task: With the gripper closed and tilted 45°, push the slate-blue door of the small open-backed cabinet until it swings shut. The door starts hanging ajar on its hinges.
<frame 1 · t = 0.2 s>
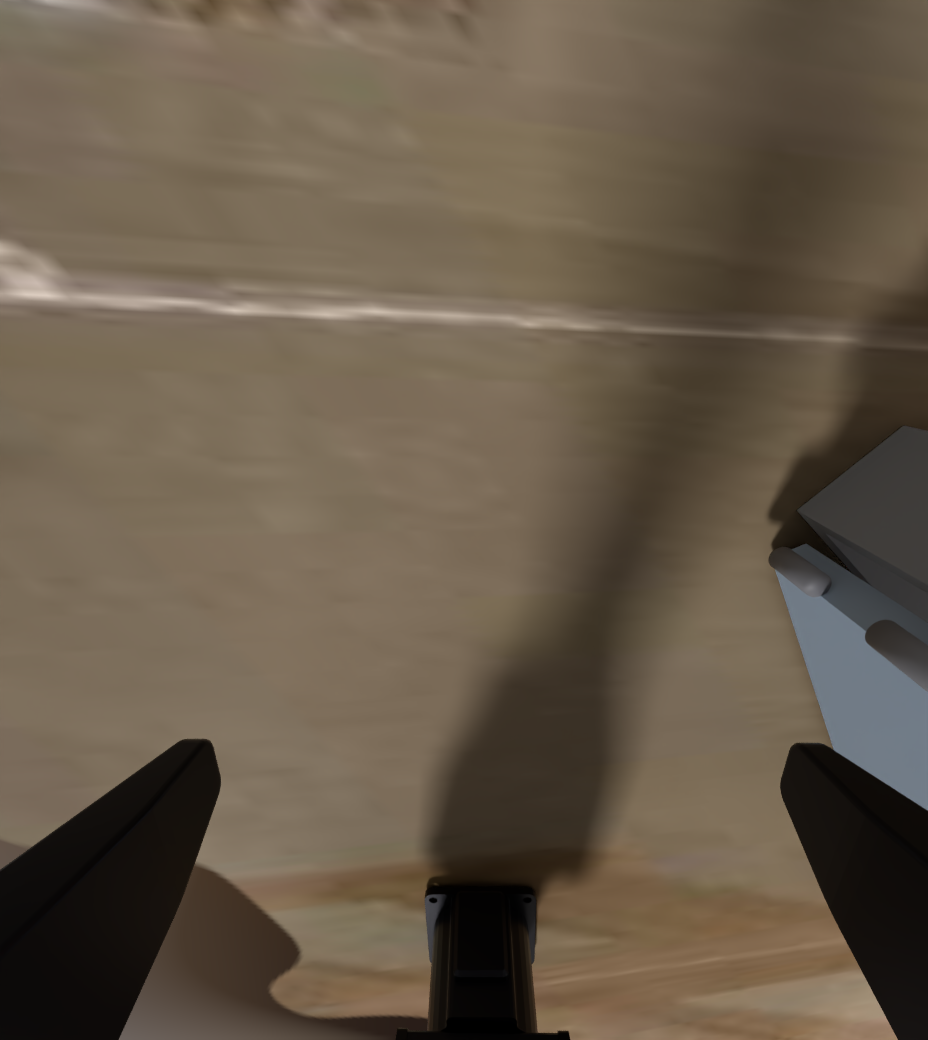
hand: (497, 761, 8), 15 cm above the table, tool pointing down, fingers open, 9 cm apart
door: (896, 768, 20), point 5 cm above the table, hinge at 20.0°
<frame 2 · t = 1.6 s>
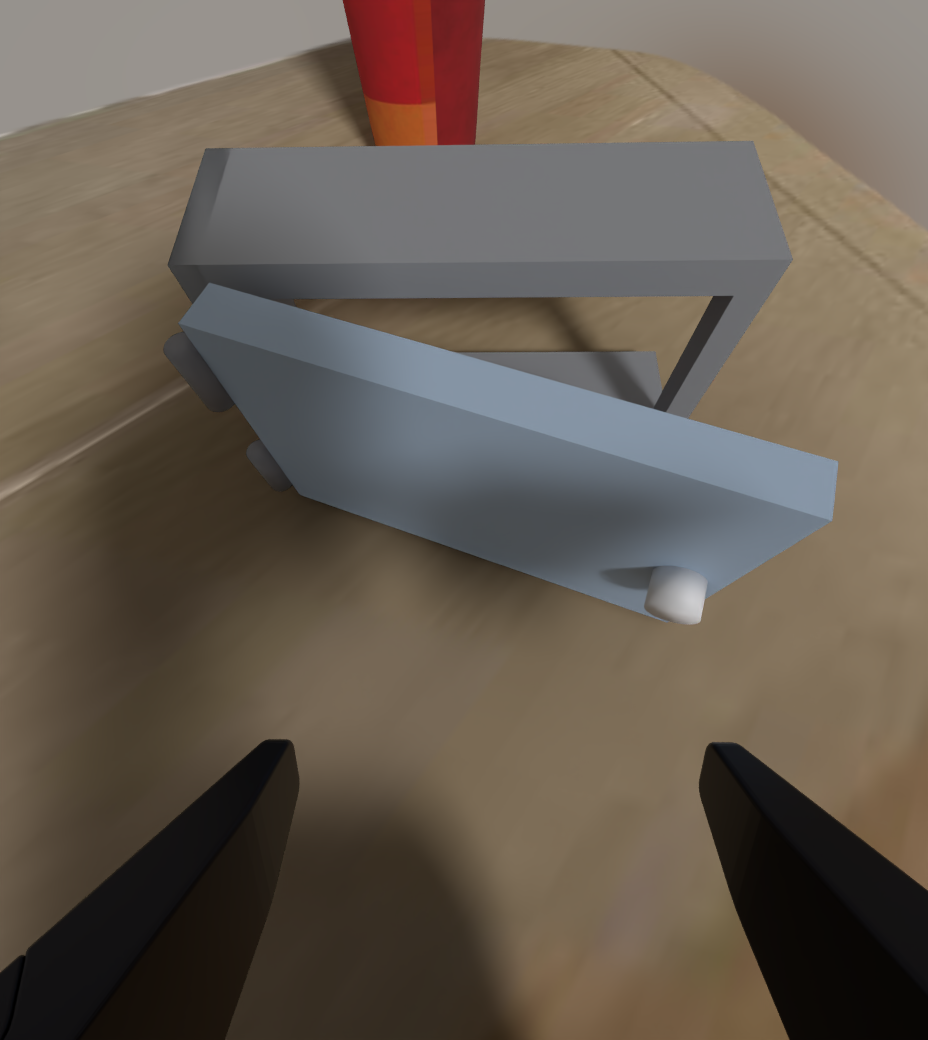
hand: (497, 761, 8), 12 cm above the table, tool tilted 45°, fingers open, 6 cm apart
door: (459, 494, 17), point 5 cm above the table, hinge at 20.0°
cabinet: (484, 411, 24), on the table
coffee cup: (425, 157, 32), on the table
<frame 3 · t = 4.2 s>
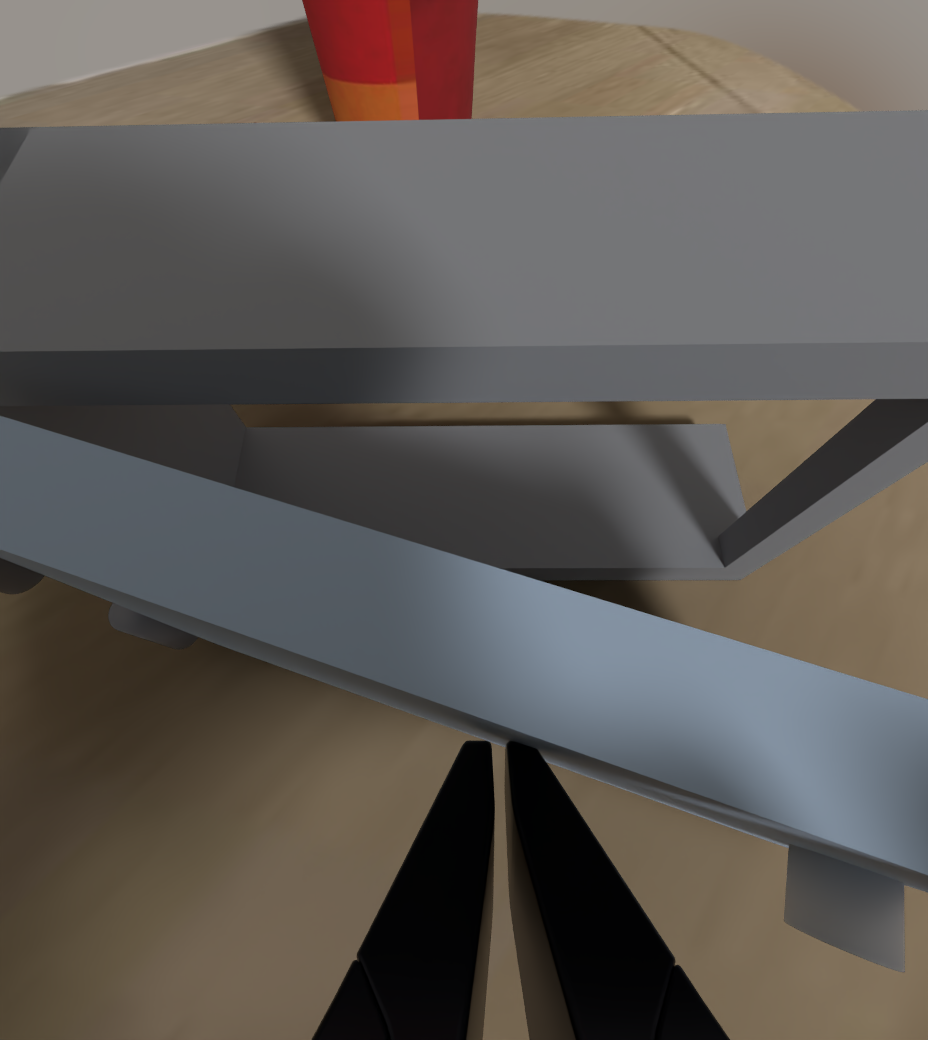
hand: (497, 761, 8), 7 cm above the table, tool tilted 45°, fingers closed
door: (447, 712, 10), point 5 cm above the table, hinge at 18.0°, touching gripper
cabinet: (483, 508, 17), on the table
coffee cup: (407, 156, 25), on the table
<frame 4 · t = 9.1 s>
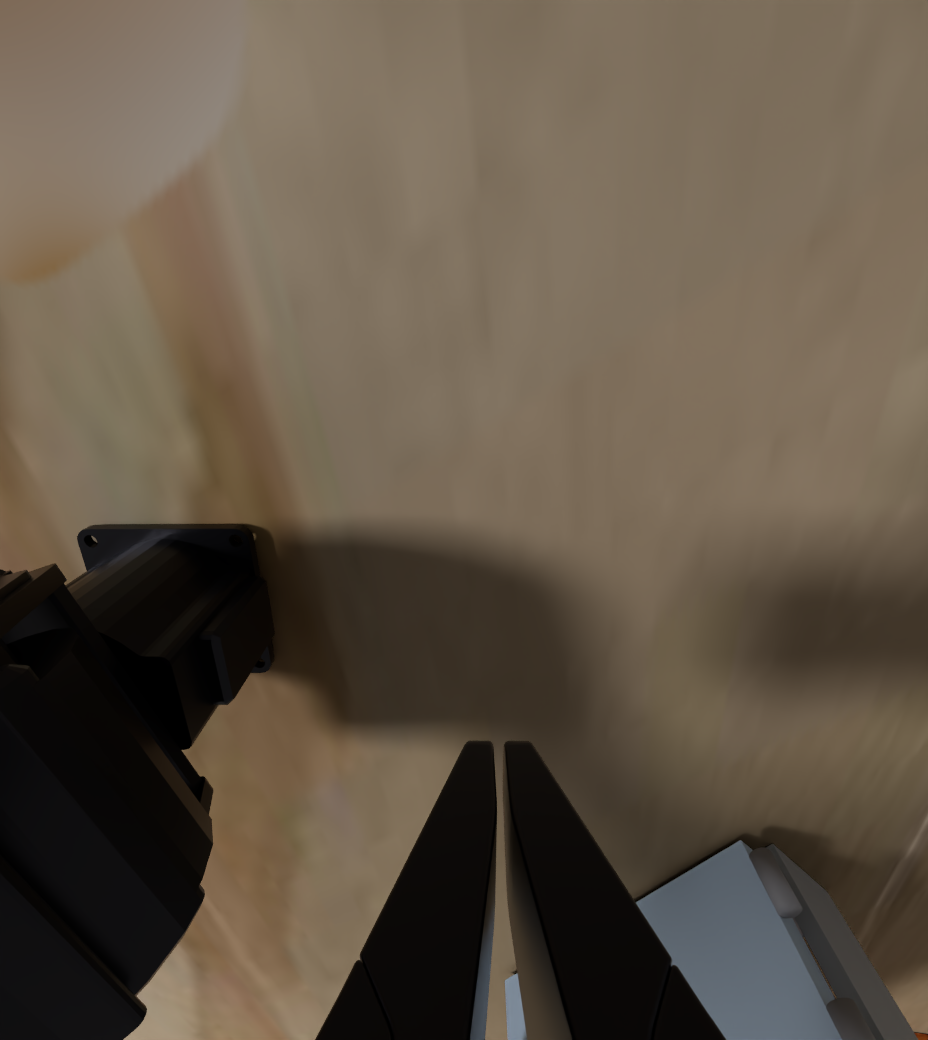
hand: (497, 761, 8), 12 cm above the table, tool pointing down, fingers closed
door: (653, 1036, 22), point 5 cm above the table, hinge at -0.9°
cabinet: (661, 944, 29), on the table
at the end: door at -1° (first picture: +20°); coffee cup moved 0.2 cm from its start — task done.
